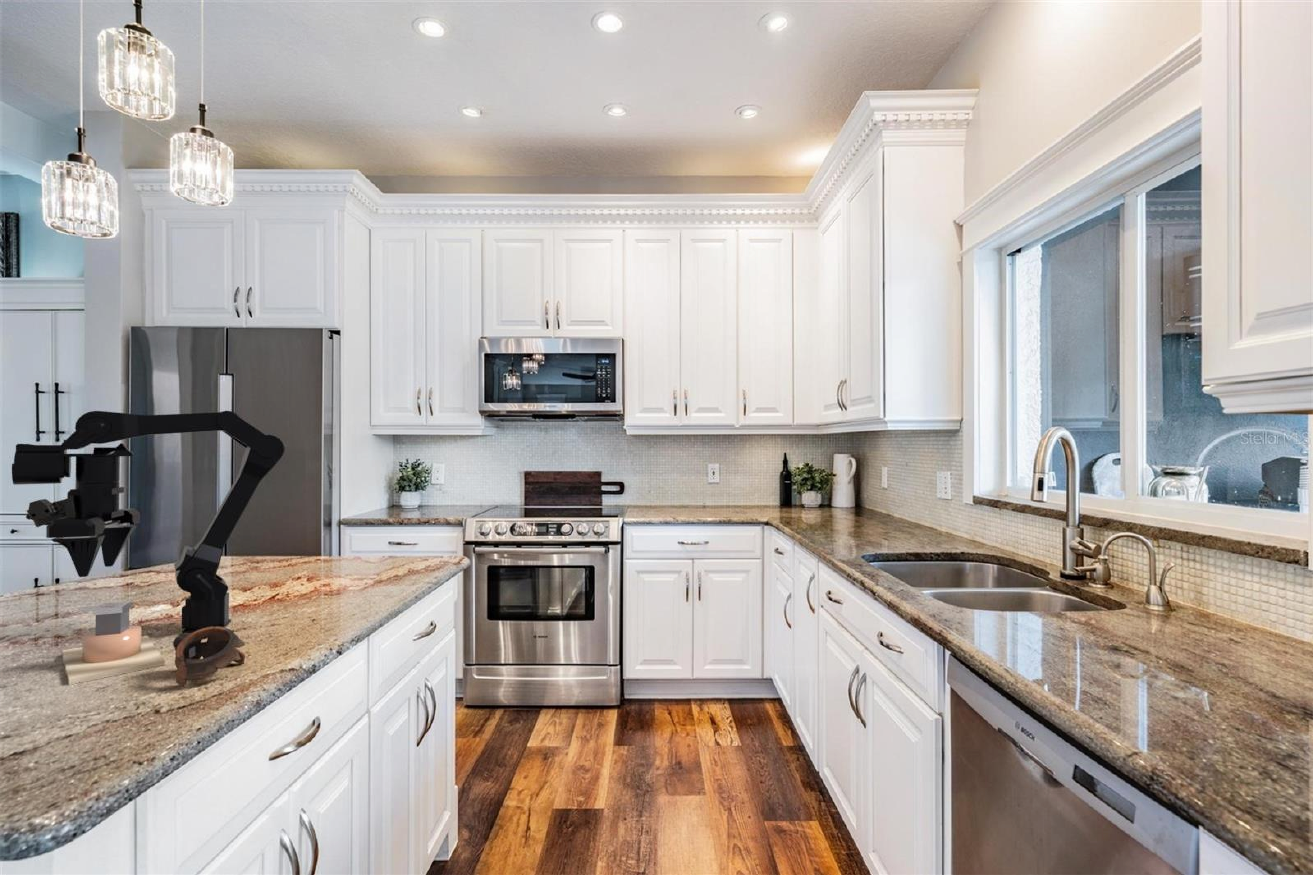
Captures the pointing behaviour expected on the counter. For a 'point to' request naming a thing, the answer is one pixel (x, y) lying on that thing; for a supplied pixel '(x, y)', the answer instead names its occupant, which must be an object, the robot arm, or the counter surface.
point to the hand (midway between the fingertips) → (96, 571)
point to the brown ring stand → (205, 652)
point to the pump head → (108, 608)
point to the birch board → (110, 663)
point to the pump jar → (111, 639)
